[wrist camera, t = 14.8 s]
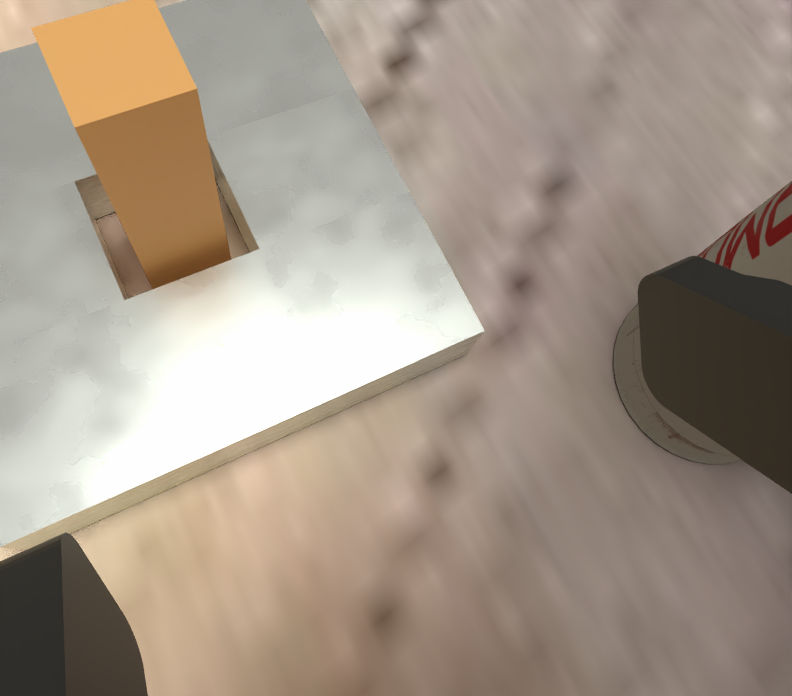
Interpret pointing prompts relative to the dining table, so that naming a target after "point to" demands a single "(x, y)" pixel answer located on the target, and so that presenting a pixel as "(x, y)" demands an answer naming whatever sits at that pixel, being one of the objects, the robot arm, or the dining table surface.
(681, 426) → the thermos bottle
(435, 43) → the dining table surface
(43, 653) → the robot arm
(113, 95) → the square peg
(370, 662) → the dining table surface
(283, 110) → the collar plate
